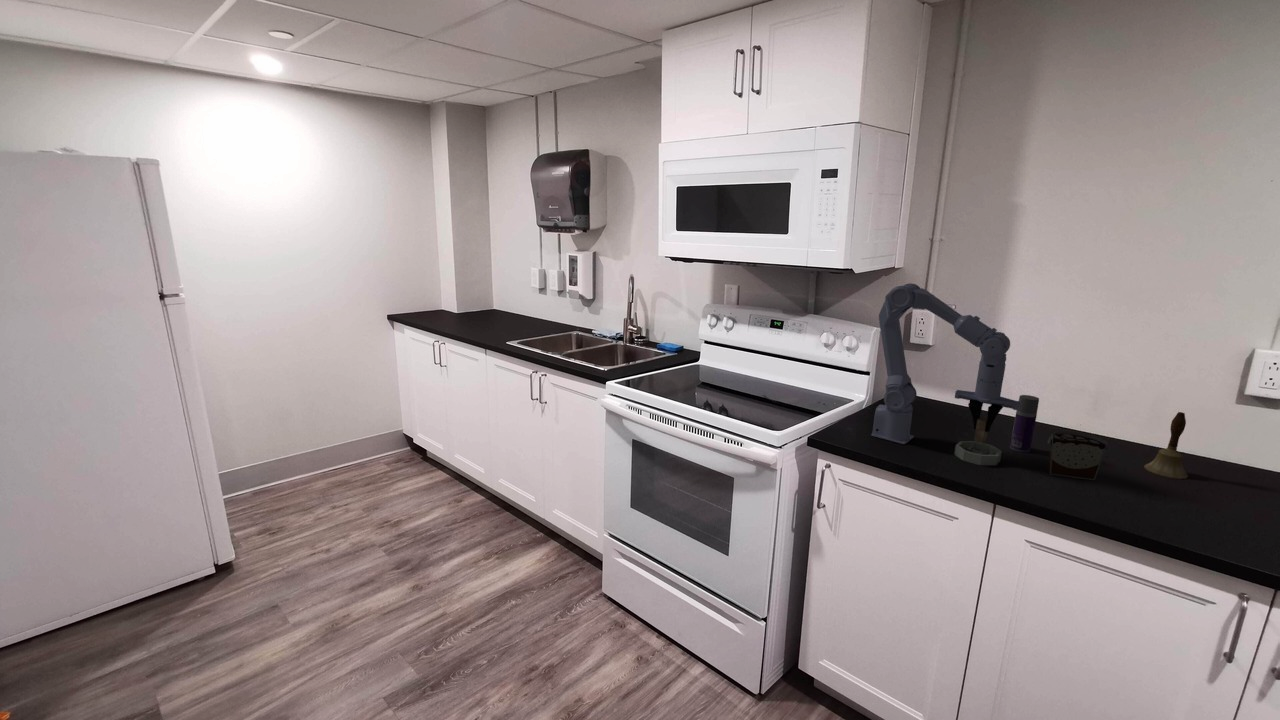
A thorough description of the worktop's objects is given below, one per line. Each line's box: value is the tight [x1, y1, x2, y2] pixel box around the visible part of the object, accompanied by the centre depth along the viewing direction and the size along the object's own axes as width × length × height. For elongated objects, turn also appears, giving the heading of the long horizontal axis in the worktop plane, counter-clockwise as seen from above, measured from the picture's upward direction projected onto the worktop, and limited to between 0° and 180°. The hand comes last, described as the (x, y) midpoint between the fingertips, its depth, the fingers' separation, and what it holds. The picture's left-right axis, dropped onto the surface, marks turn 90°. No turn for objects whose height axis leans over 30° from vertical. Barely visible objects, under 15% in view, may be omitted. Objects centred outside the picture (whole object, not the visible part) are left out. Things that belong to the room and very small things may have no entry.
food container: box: [1047, 430, 1110, 481], centre depth 144 cm, size 12×6×10 cm, turn 71°
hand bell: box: [1144, 411, 1189, 480], centre depth 144 cm, size 8×8×16 cm
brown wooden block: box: [973, 415, 988, 443], centre depth 151 cm, size 2×4×6 cm, turn 137°
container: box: [1009, 394, 1040, 453], centre depth 157 cm, size 5×5×15 cm
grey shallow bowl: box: [954, 440, 1003, 466], centre depth 153 cm, size 10×10×3 cm
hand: (981, 429), depth 151 cm, fingers closed on brown wooden block, 2 cm apart
